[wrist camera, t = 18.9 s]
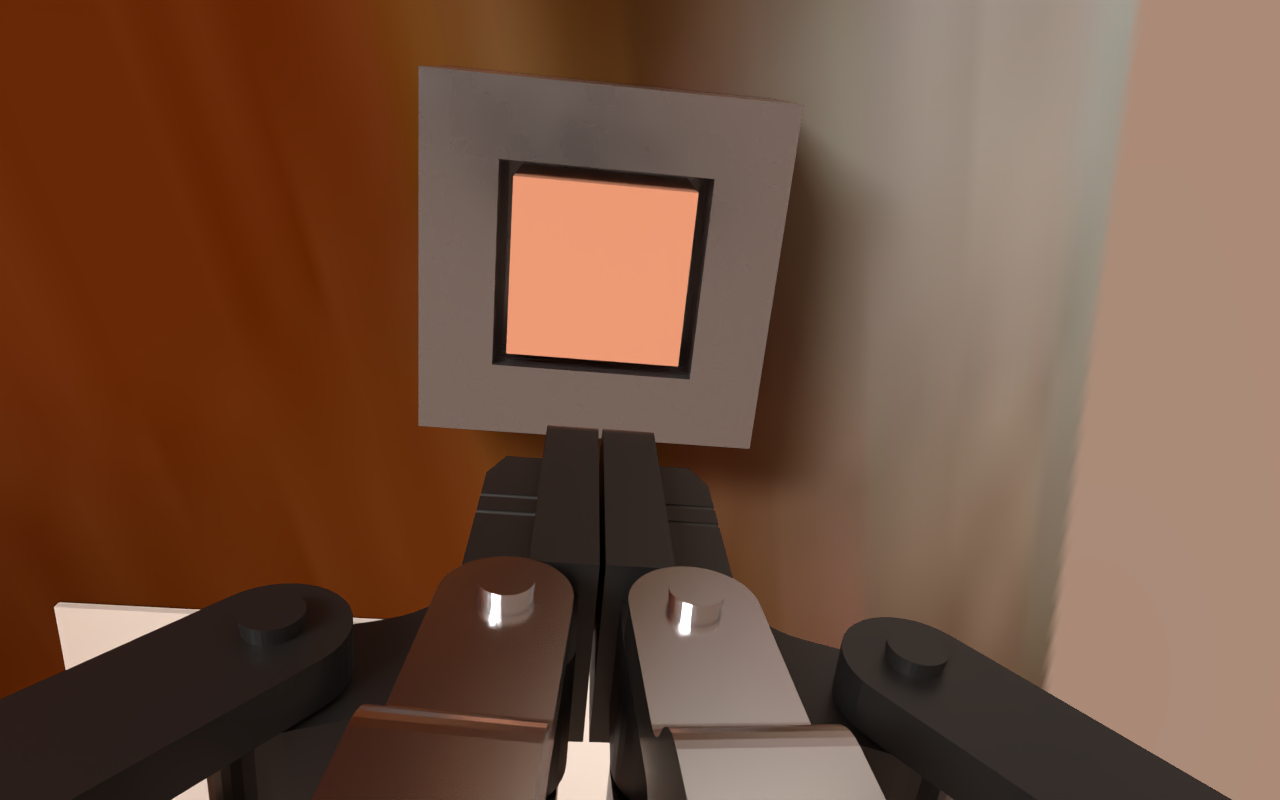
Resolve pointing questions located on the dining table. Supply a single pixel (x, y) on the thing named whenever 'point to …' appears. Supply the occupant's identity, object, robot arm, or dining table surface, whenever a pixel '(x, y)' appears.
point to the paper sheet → (115, 625)
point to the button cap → (599, 264)
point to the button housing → (614, 142)
